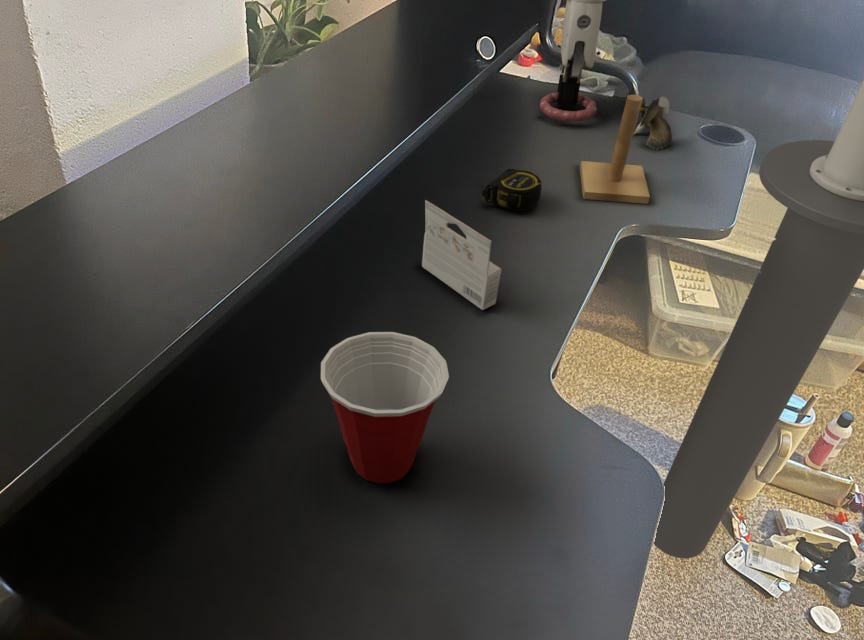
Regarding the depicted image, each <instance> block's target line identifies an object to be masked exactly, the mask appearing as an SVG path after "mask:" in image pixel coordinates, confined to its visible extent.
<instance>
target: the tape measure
mask: <svg viewBox="0 0 864 640" xmlns="http://www.w3.org/2000/svg"><path fill="white" fill-rule="evenodd" d="M542 186H543V185H542V180H541V179H540V177H539V176H538V175H537V174H535V173H533V172H532V171H529V170H524V169H523V170H522V169H516V168H515V169H514V168H506V169H505V170H504V171H503V172H502V173H500V175H498V176H497V177H496V178H494V179H493V180H491V181H489V183H487V185H486V186H485V188H482V190H481V191H482V193H481V196H482V197H484V199H485V201H486V202H487V203H488V204H489V203H490V204H497V205H498V206H500V207H502V208H504V209H506V210H511V211H524V210H528V209H532V208H533V207H535V206H536V205H537V204H538V202H539V201H540V198H541V195H542V194H541V193H542Z"/></svg>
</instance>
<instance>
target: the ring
mask: <svg viewBox="0 0 864 640" xmlns="http://www.w3.org/2000/svg"><path fill="white" fill-rule="evenodd" d="M558 94H559V92H557V91H556V92H551V93H548V94H547V95H544V97H542V98H541V99H540V100H539V110H540V112H541V113H543V115H545V116H547V117H548V118H550V119H552V120H553V119H554V120H557V121H560V122H571V123H577V122H582V121H588V120H589V119H591V118H592V117H593V116H595V114H596V113H597V111H598V109H597V103H596V101H594V100H593V99H592V98H590V97H589V96H587V95H585V94H582V93H579V94H578V99H577V104H576V105H580V106H582V107H584V108H585V109H581V110H574V111H573V110H563V109H559V108H555V107H554V106H552V104H555V103H557V100H558Z"/></svg>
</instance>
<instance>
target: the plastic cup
mask: <svg viewBox="0 0 864 640" xmlns="http://www.w3.org/2000/svg"><path fill="white" fill-rule="evenodd" d="M449 378H450V374H449V370H448V364H447V360H446V359H445V358H444V357H443V355H441V354H440V352H439V351H438V350H437V349H436V347H434V346H433V345H431V344H429V343H427V342H425V341H423V340H421V339H419V338H418V337H416V336H413V335H407V334H404V333H400V332H395V331H369V332H365V333H361V334H357V335H353V336H350V337H347V338H344V339H343V340H342V341H340V342H339V343H337V344H335V345H334V346H332V347H331V348H330V349H329V350H328V352H327V353H326V354H325V356H324V357H323V359H322V360H321V362H320V381H321V383H322V385H323V387H324V388H325V389H326V391H327V393H328V394H329V396H330V398H331V402H332V405H333V406H334V409H335V413H336V416H337V417H336V418H337V421H338V424H339V428H340V431H341V434H342V439H343V442H344V445H345V447H346V450H347V453H348V456H349V460H350V462H351V464H352V466H353V468H354V470H355V472H356V473H357V475H358V476H360V477H361V478H363V479H364V480H366V481H369V482H372V483H375V484H390V483H394V482H396V481H399V480H401V479H402V478H403V477H405V476H406V475H407V474H408V473H409V471H410V470H411V469H412V466H413V464H414V461H415V458H416V455H417V452H418V450H419V447H420V444H421V442H422V440H423V436H424V434H425V430H426V427H427V425H428V421H429V418H430V416H431V412H432V410H433V408H434V406H435V403H436V401H437V400H438V399H439V398H440V397H442V395H443V392H444V390H445V387H446V385H447V383H448V381H449Z"/></svg>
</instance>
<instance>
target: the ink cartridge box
mask: <svg viewBox="0 0 864 640" xmlns="http://www.w3.org/2000/svg"><path fill="white" fill-rule="evenodd" d="M424 206H425V207H424V211H425V212H424V217H425V221H424V222H425V228H424V229H425V230H424V231H425V232H424V234H423V235H424V236H423V246H422V255H421V256H422V259H421V267H422V268H423V269H424V270H426V271H427V272H429V273H430V274H431V275H433V276H434V277H435V278H437V279H438V280H440V281H441V282H443V283H444V284H445V285H447V287H449V288H451V289H452V290H454V291H455V292H456V293H458V294H459V295H461V296H462V297H463V298H465V299H466V300H468V301H469V302H470V303H471V304H473V305H474V306H476V307H477V308H478V309H480V310H481V311H484V310H486V309H488V308H490V307H492V306H494V305H496V303H497V297H498V293H499V292H498V291H499V286H500V279H501V274H502V268H501V267H499V266H498V265H496V264H494V263H493V262H492V261H491V252H492V240H491V239H489V238H488V237H486V236H484V235H483V234H481V233H480V232H478V231H476V230H475V229H474V228H472V227H470V226H469V225H467V224H466V223H464V222H462V221H460V220H459V219H458V218H456V217H454V216H453V215H451V214H449V213H448V212H446V211H445V210H443V209H441V208H440V207H438V206H437V205H435V204H433V203H432V202H430V201H428V200H427V199H425V200H424ZM449 224H450V225H451V224H452V225H456V226H457V227H458V228H459V229H460V230H461V232H463V234H464V235H465V237H464V236H462V235H461V234H459V233H457V232H456V231H455V230H453V229H451V228H450V227H449Z"/></svg>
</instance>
